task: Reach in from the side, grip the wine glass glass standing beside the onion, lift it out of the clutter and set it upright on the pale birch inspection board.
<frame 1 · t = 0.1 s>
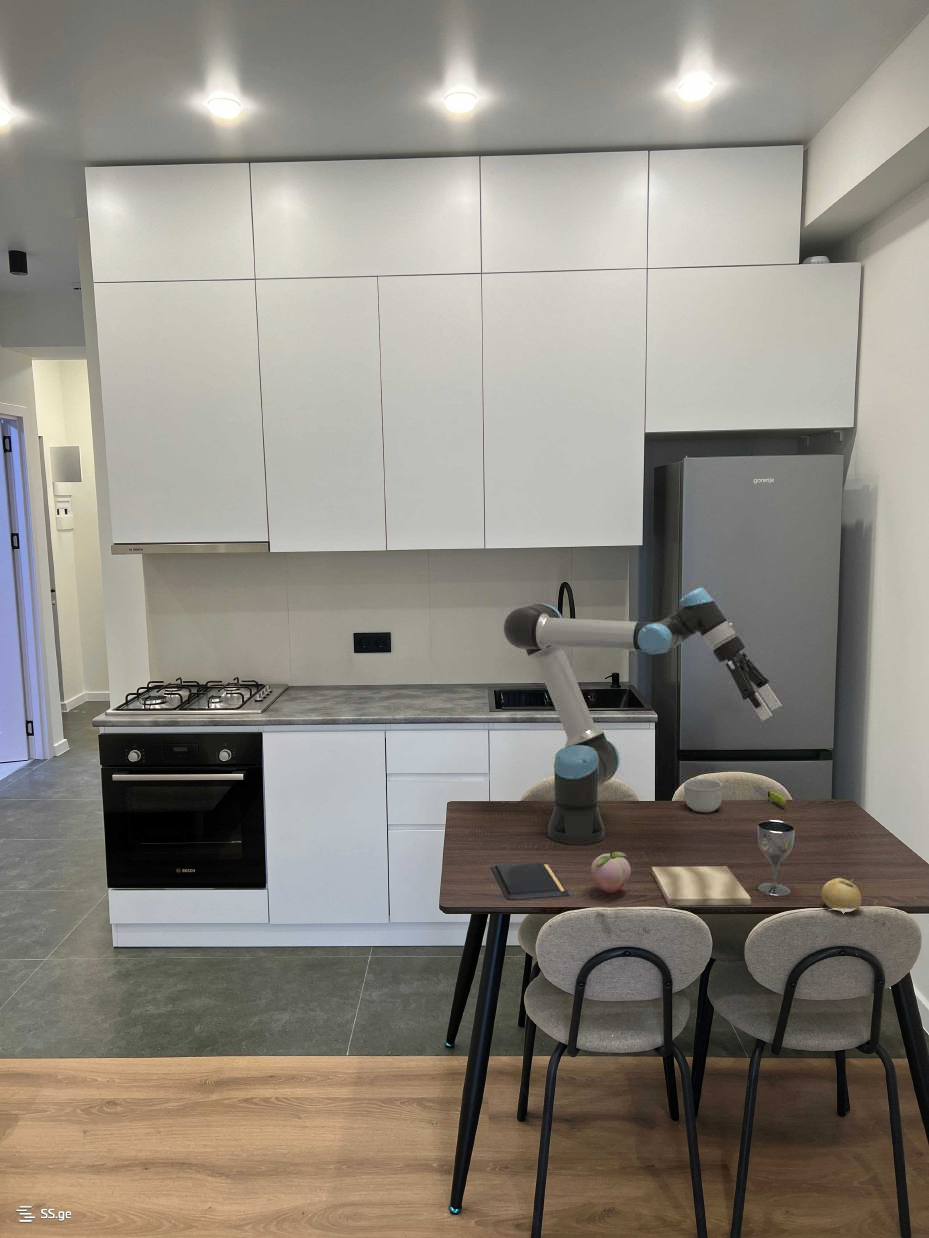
hand: (772, 713, 220), 36 cm above the table, tool tilted 35°, fingers open, 13 cm apart
wine glass: (774, 890, 199), on the table
onion: (840, 909, 189), on the table
wallet: (528, 884, 205), on the table
decorative fruit: (609, 893, 198), on the table
kitchen knife: (767, 798, 265), on the table
teacup: (702, 808, 257), on the table
inspection board: (698, 888, 200), on the table
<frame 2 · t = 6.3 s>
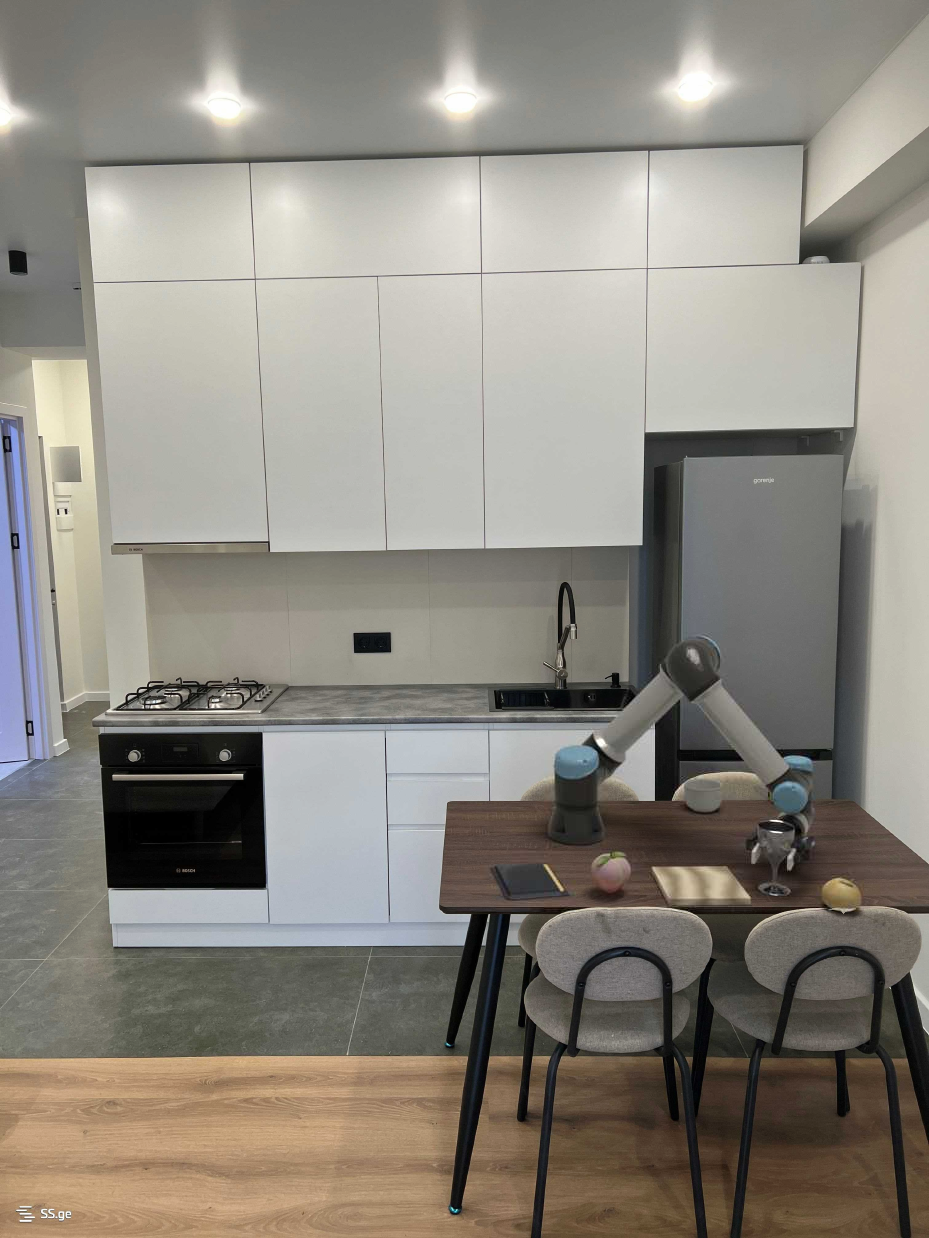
hand: (770, 860, 194), 8 cm above the table, tool horizontal, fingers closed on wine glass, 7 cm apart
wine glass: (774, 890, 199), on the table, touching gripper
everything else where it was.
when the fingers open (11 cm above the table, at t = 12.3 s): wine glass moves 4 cm, resting on inspection board.
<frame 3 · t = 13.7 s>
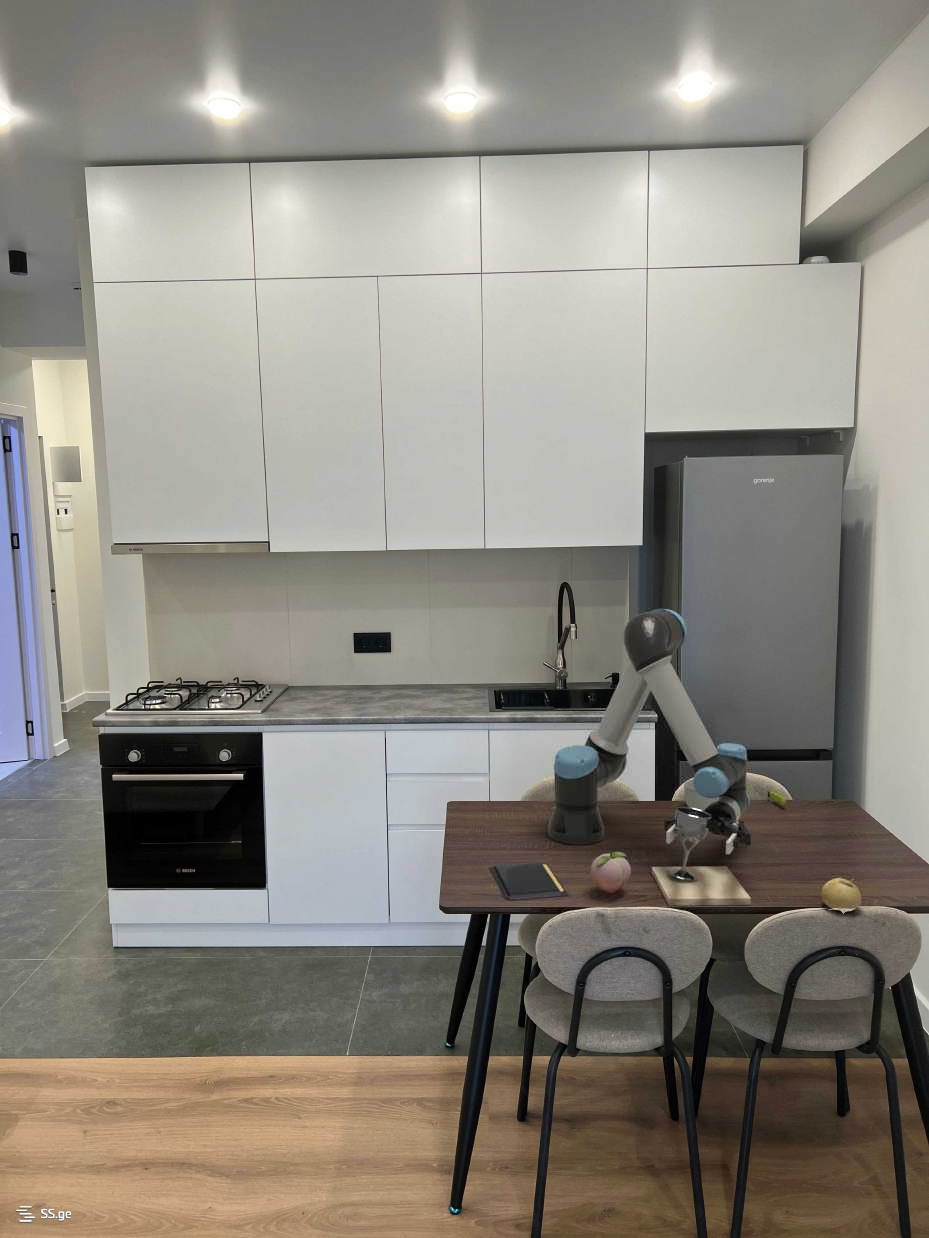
hand: (697, 843, 197), 12 cm above the table, tool horizontal, fingers open, 13 cm apart
wine glass: (682, 875, 203), point 2 cm above the table, touching inspection board
everything else where it was.
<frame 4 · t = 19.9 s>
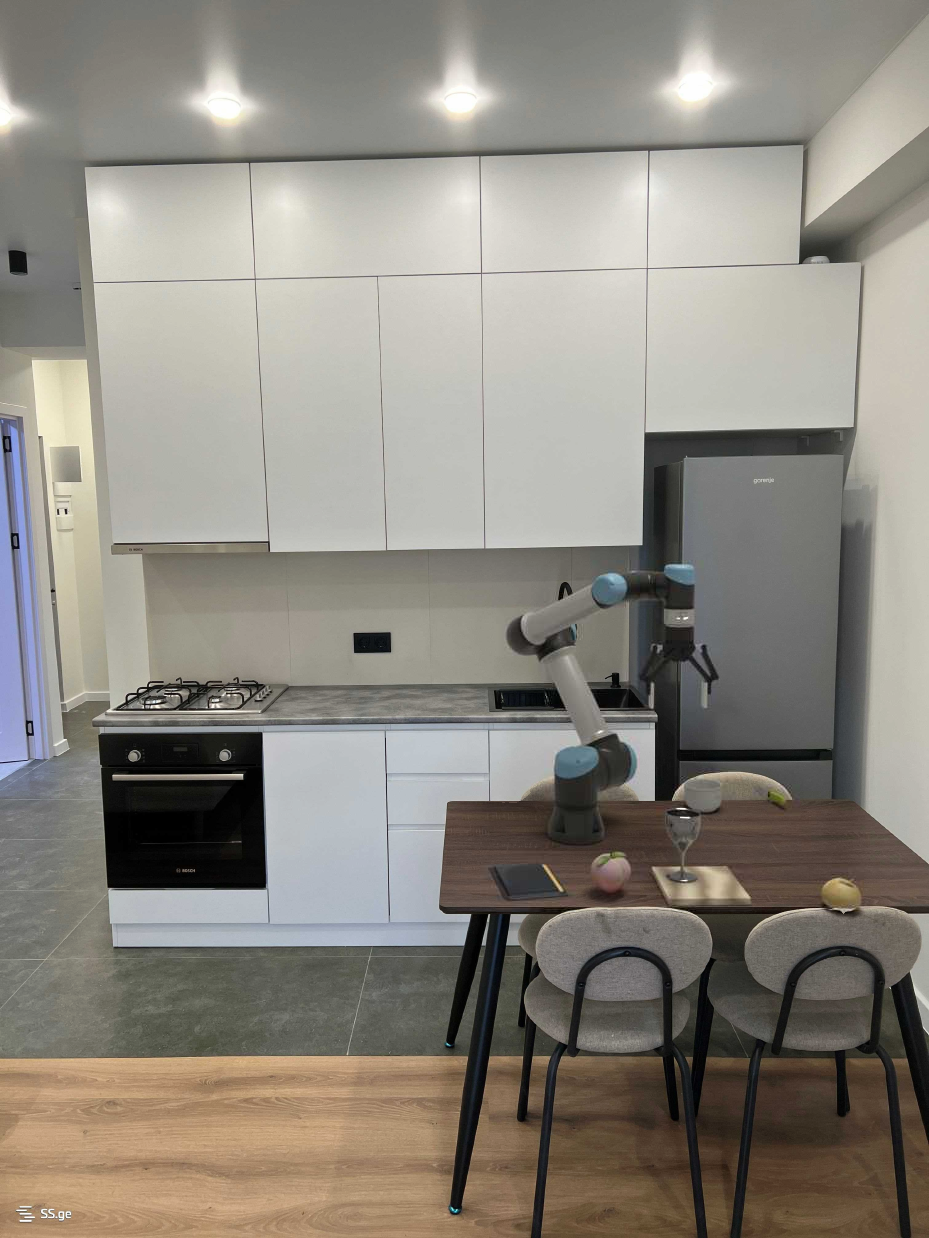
hand: (677, 707, 223), 37 cm above the table, tool pointing down, fingers open, 13 cm apart
at the end: wine glass inside the target area on the inspection board (4.3 cm from its centre), point 1.5 cm above the inspection board's base; wine glass tilted 4°; the gripper is holding nothing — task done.
